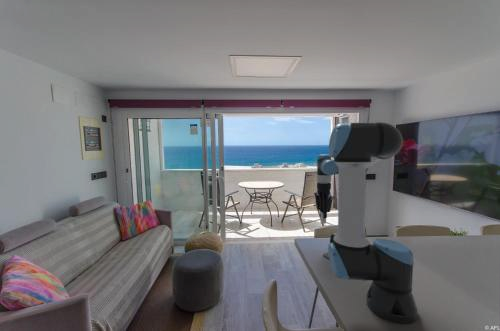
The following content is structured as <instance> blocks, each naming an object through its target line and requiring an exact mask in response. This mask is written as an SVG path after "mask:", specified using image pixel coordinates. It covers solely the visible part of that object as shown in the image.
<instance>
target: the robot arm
mask: <svg viewBox="0 0 500 331" xmlns="http://www.w3.org/2000/svg"><path fill="white" fill-rule="evenodd" d="M329 137H330V138H329V141H328V154H318V155H317V156H316V159H317V160H316V163H317V164H316V169H317V170H316V189H317V190H316V192H314V193H313V194H314V197H315V203H316V210H317V211H319V217H320V224H322V225H325V224H326V223H327V218H328V213H330V212H331V210H332V209H331V208H332V205H333V201H334V200H335V196H333V195H332V194H331V189H332V183H331V182H332V176H333V175H338V176H337V177H338V181H337V182H338V185H337V186H338V189H337V191H338V192H337V193H338V195H337V196H338V198H337V201H338V202H337V203H338V204H337V206H338V208H337V232H338V234H337V235H335V236H334V242H333V243H330V242H329V243H328V247H327V253H329V259H328V260H329V263H330V266H331V270H332V272H333V274H334V276H335V277H336V278H338V279H342V280H343V279H344V280H348V281H350V280H355V281H356V280H358V281H372V282H371V284H370V286H369V288H368V290H367V292H366V304H367V306H368V308H369V309H370V310H371V311H372V312H373V313H374V314H376V316H377V315H378V317H381V318H383V319H384V320H387V321H390V322H392V323H397V324H403V325H404V324H405V325H407V324H411V323H414V322H416V321H417V318H418V307H417V304H416V301H415V298H414V295H413V274H414V265H415V263H414V253H413V250H412V249H410V248H409V247H408V246H406V245H404V244H402V243H400V242H398V241H394V240H392V239H388V238H374V240H373V243H372V244H370V240H369V239H368V238H367V237H366V236H365V235H366V234H365V233H366V178H367V177H366V174H367V173H368V171H369V167H372V166H373V165H374V164H376V163H378V162H380V161H381V160H389V159H391V158H392V157H394V156H396V155H397V154H398V153H399V152H400V151H401V150H402V148H403V145H404V138H403V135H402V133H401V131H400V130H399V129H398V128H397V127H396V126H394V125H392V124H390V123H387V122H380V121H379V122H345V123H338V124H336V125H335V126H334V127H333V129H332V131H331V133H330V136H329Z"/></svg>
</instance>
